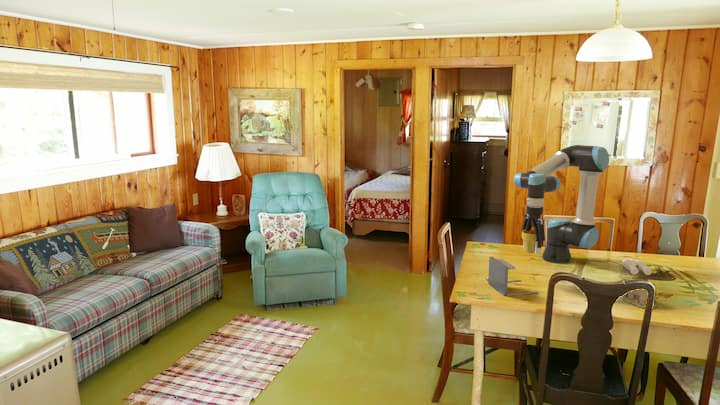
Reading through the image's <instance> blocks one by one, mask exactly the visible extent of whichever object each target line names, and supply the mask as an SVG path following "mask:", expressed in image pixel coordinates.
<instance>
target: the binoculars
mask: <svg viewBox="0 0 720 405" xmlns="http://www.w3.org/2000/svg"><path fill="white" fill-rule="evenodd" d="M622 265H623V267H624V268H625V269H626V270H627V271H629V272H630V274H632V275H637V274H638V273H639V272H643V273H644V275H646V276H650V275H652V274H653V269H652V268H651V267H648V266H647V264H646V263H644V261H642V260H639V259H635V258H631V259H625V258H624V259H623V260H622Z"/></svg>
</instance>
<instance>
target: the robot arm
mask: <svg viewBox="0 0 720 405" xmlns="http://www.w3.org/2000/svg"><path fill="white" fill-rule="evenodd" d="M609 164H610V155H609V152H608V150H607V148H605V147H604V146H598V145H582V144H581V145H580V144H576V145H570V146H567V147H565V148H562V149H560V150H558V151H557V152H555V153H554V154H553V156H552V157H550V158H548V159H547V160H545V161H543V162H541V163H540V164H538V165H536V166H535V167H532V169H530V170H528V171H527V172H517V173H516V174H515V175H514V177H513V185H514V186H515V187H516V188H519V189H525V190H527V198H526V210H525V214H524V219H523V223H522V228H521V232H522V231H523V230H527V231H529V230H532V228H533V230H535V234H536V239H537V240H536V243H535V253H534V255H541V254H542V260H544V261H546V262H550V263H554V264H566V263H571V261H572V255H571V251H570V247H569V245H571V246H573V247H579V248H581V249H582V248H583V249H591V248H593V247H594V246H595V245H596V243H597V241H598V240H599V237H600V232H599V231H600V230H599V229H598V228H597V227H596V222H595V221H594V215H595V208H596V207H595V205H596V199H597V194H598V185H599V178H600V175H602V174H603V173H604V172H603V171H604V170H607V168H608V166H609ZM567 167H568V168H569V167H577V168H578V172H579V173H580V179H579V180H580V181H579V188H578V195H577V196H578V197H577V203H576V211H575V218H574V219H572V220H571V219H568V218H553V219H550V220H549V221H547V227H546V228H547V231H546V232H547V233H546V234H545V220H544V219H542V218H541V216H543V214H544V205H545V204H544V203H545V193H553V192H556V191H558V190H560V188H561V187H562V186H561V185H562V184H561V180H560V178H559V177H558V176H556V175H552V174H555V173H556V172H558V171H559V170H561V169H565V168H566V169H567ZM545 241H546V244H545V245H546V246H545V248H544V250H543V253H542V244H543V242H545ZM522 243H523V242H522ZM522 246H523V247H522V248H523V249H524V243H523V245H522Z"/></svg>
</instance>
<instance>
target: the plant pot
mask: <svg viewBox="0 0 720 405" xmlns="http://www.w3.org/2000/svg"><path fill="white" fill-rule="evenodd" d="M521 239H522V243H524V248H523V249H524V252H525V253H529V254H535V243H536V240H537V239H536V234H535V229H531V230H529V231H527V230H523V231H522V230H521Z"/></svg>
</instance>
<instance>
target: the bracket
mask: <svg viewBox="0 0 720 405" xmlns="http://www.w3.org/2000/svg"><path fill="white" fill-rule="evenodd" d="M488 259H489V261H488V277H487V278H488V280H487V281H488V282H487V283H488V285H489V286H490V287H492V288H493V289H494V290H495V291H496V292H498V293H499V294H500V295H502V296H503V297H514V296H515V297H516V296H523V295H534V294H535V295H536V294H540V292H539V291H531V292H530V291H529V292H520V293H511V294H510V293H509V294H508V284H509V283H517V282H522V280H520V279H516V280H509V271H511V270H512V271H513V270H516V266H514V265H512V264H511V263H510V262H508V261H507V260H505V259H504V258H495V257H494V256H489V258H488Z"/></svg>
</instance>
